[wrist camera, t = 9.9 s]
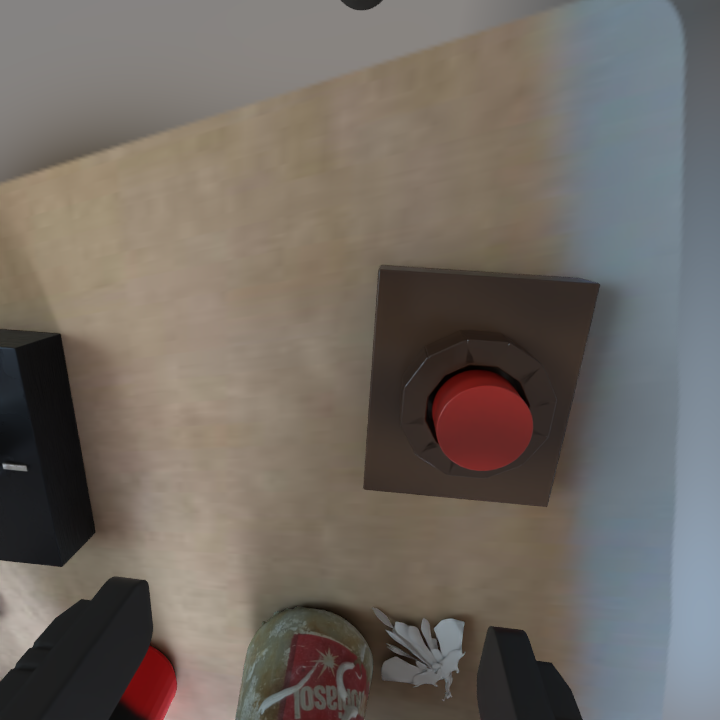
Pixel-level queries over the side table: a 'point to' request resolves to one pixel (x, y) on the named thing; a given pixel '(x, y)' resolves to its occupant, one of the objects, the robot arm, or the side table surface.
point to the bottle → (306, 669)
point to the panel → (39, 454)
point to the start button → (481, 420)
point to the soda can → (148, 690)
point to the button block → (471, 352)
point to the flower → (424, 652)
